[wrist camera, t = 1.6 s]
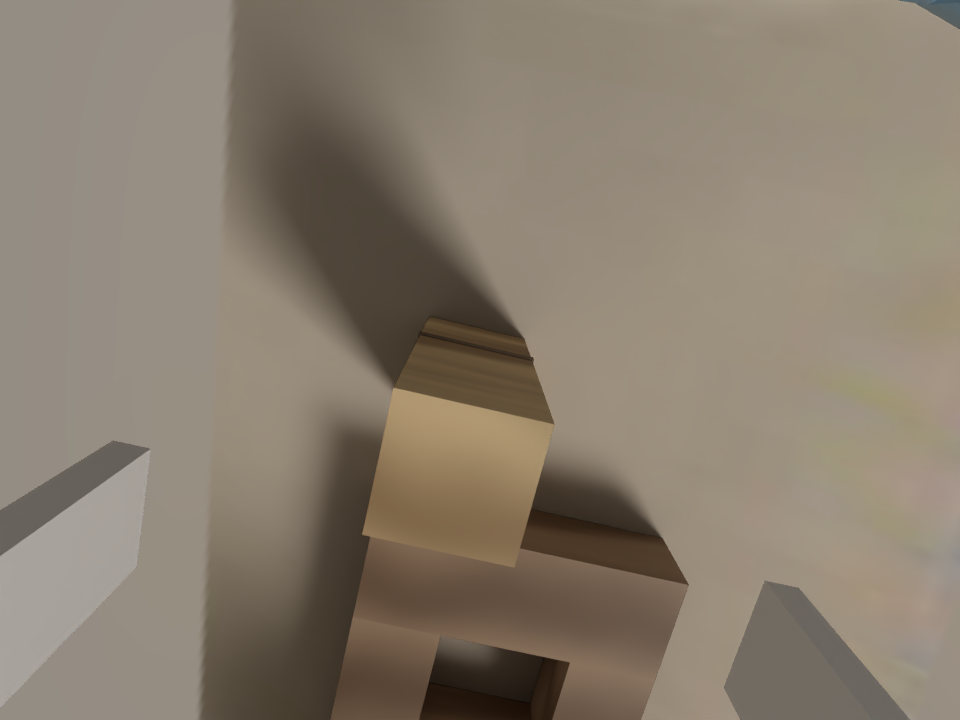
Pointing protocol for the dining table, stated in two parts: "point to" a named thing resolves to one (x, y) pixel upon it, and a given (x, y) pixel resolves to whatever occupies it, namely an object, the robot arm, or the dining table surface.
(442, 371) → the peg
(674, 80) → the dining table surface
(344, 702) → the board
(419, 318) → the dining table surface
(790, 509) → the dining table surface
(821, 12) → the dining table surface
